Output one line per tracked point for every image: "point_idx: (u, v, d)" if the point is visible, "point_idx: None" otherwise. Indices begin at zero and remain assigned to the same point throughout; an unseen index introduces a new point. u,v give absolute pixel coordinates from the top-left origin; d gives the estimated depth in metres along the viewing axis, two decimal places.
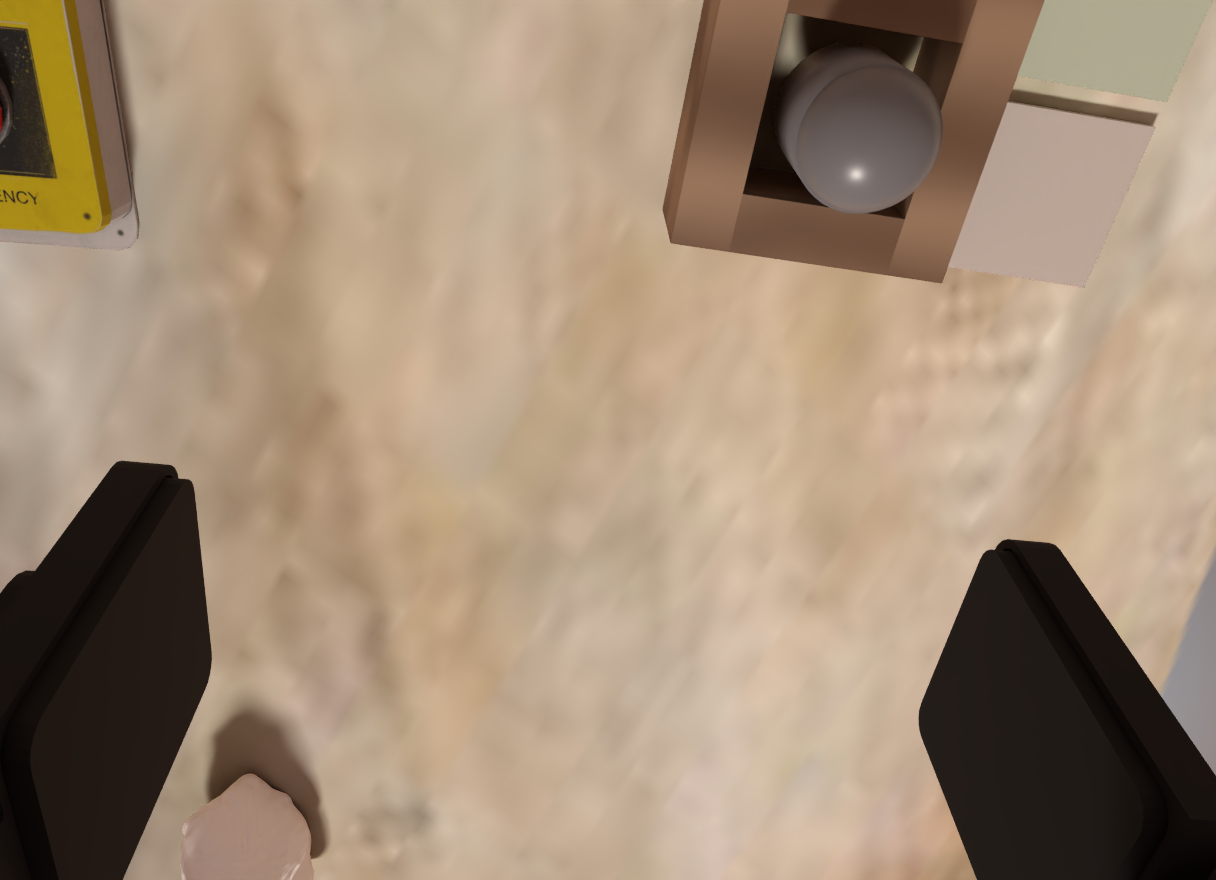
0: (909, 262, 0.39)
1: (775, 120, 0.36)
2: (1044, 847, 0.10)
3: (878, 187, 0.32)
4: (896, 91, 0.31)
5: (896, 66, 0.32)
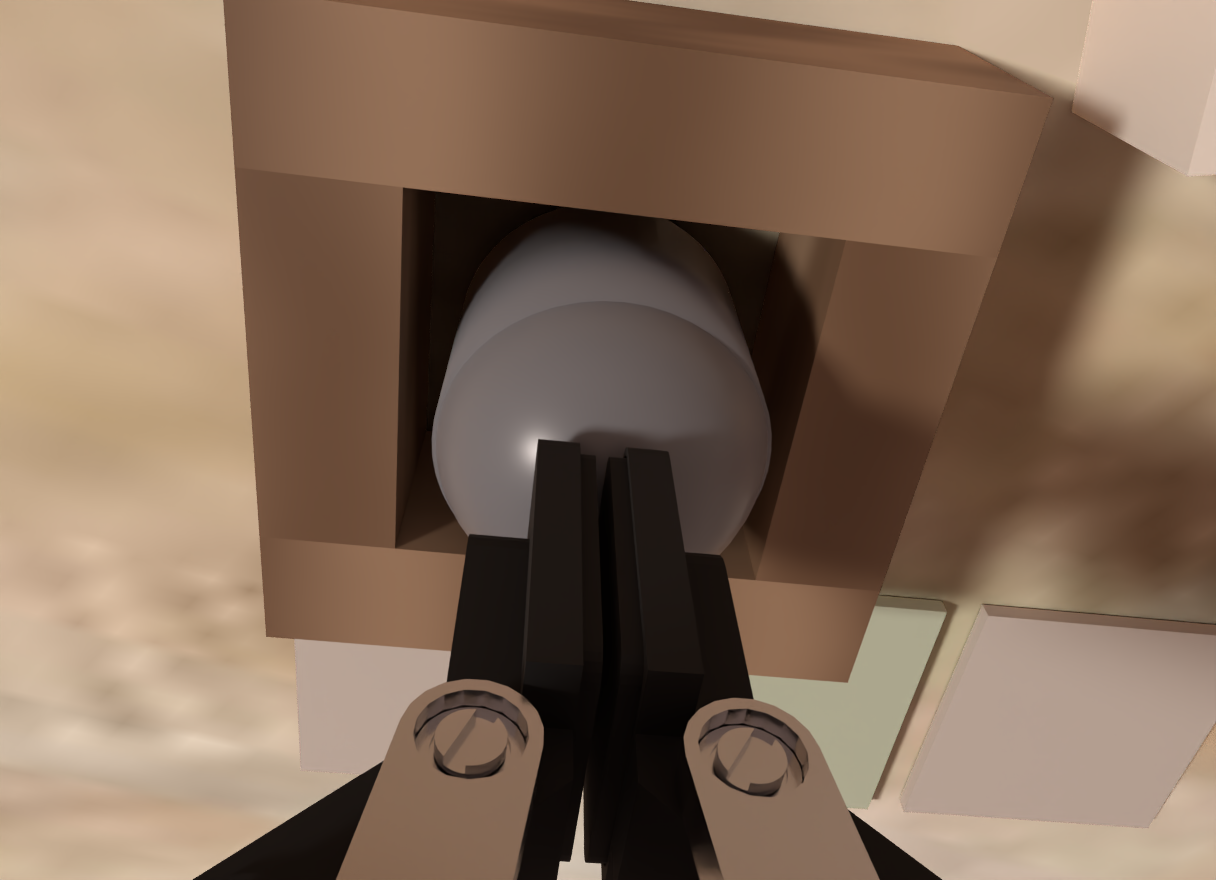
0: (299, 573, 0.17)
1: (583, 209, 0.16)
2: (599, 720, 0.10)
3: (526, 529, 0.13)
4: (738, 512, 0.14)
5: (762, 479, 0.15)
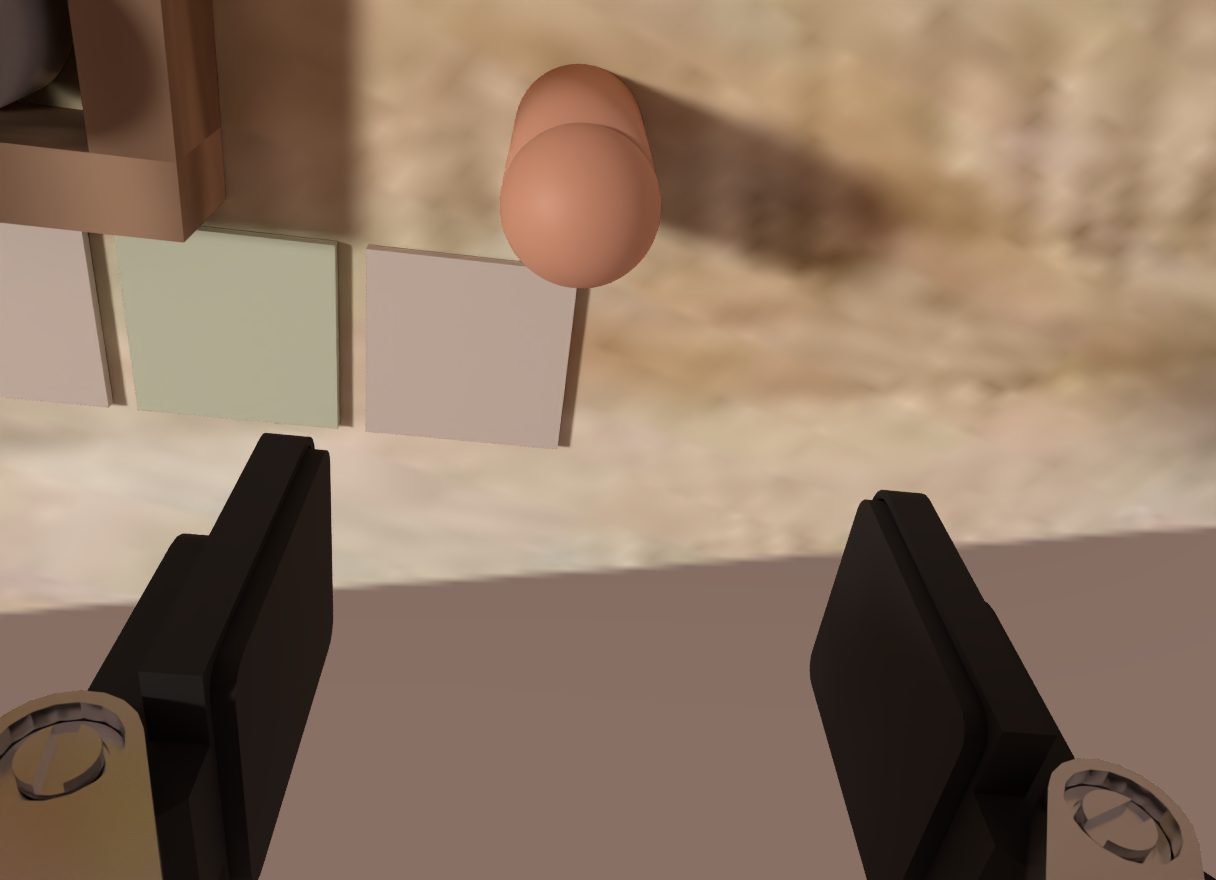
0: None
1: None
2: (894, 772, 0.10)
3: None
4: None
5: (0, 47, 0.23)
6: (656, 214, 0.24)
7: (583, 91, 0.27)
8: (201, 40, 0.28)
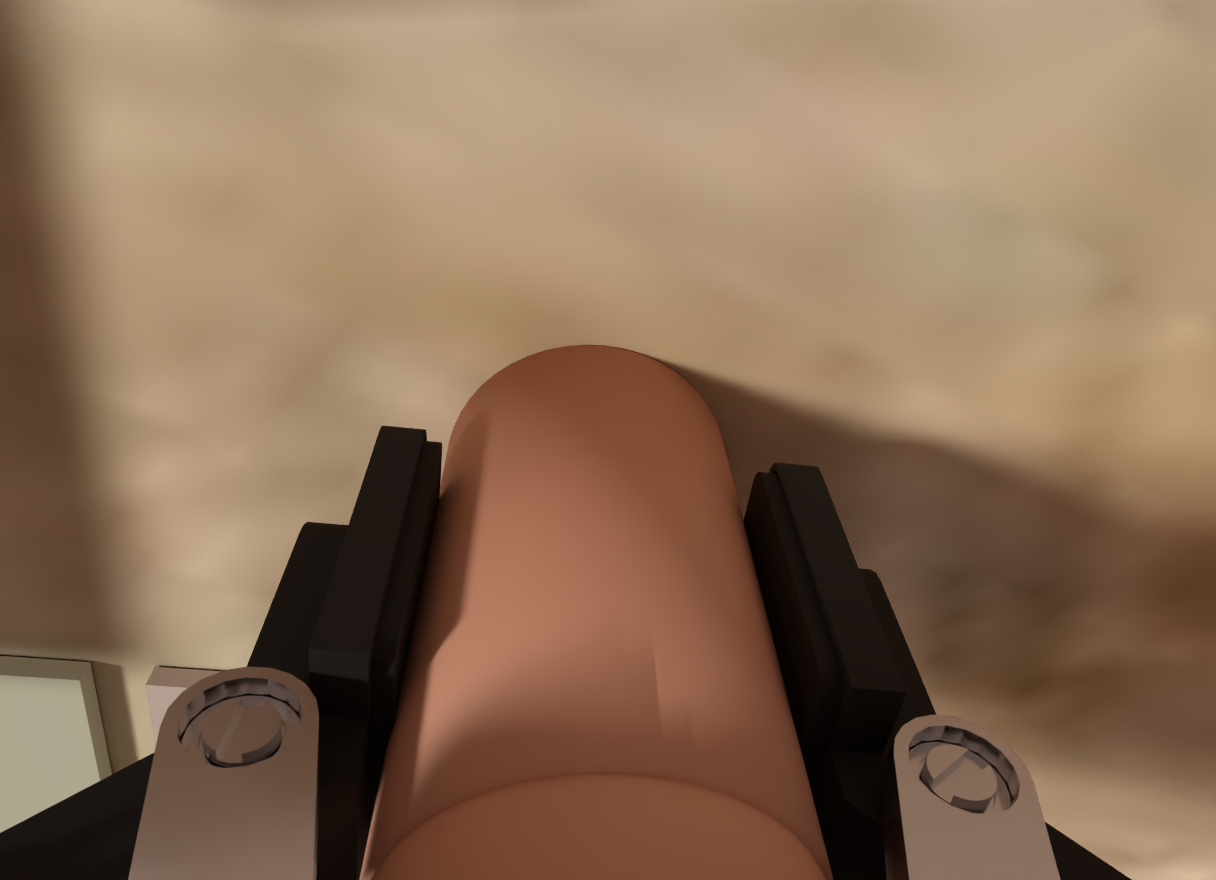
0: None
1: None
2: None
3: None
4: None
5: None
6: None
7: (602, 511, 0.10)
8: None
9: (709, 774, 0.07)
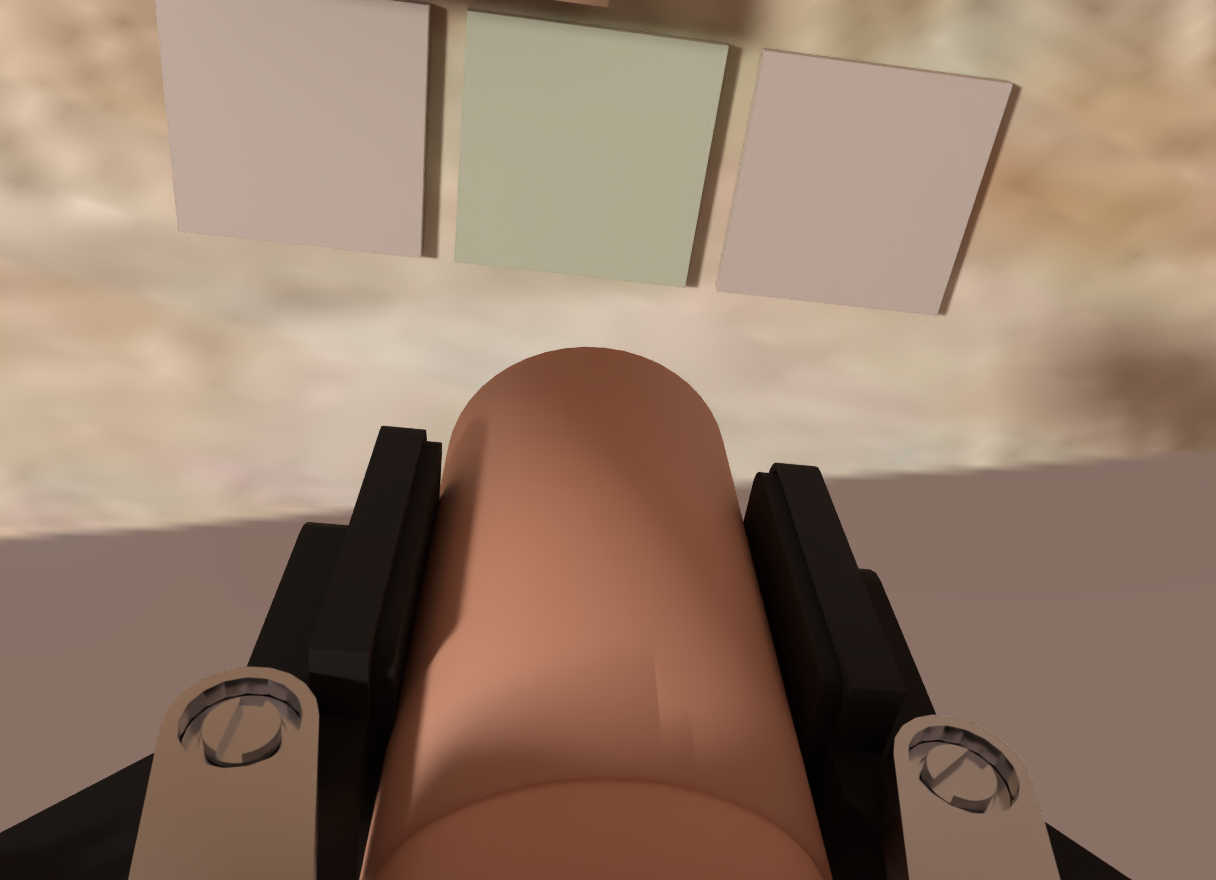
0: None
1: None
2: None
3: None
4: None
5: None
6: None
7: (601, 514, 0.10)
8: None
9: (709, 779, 0.07)
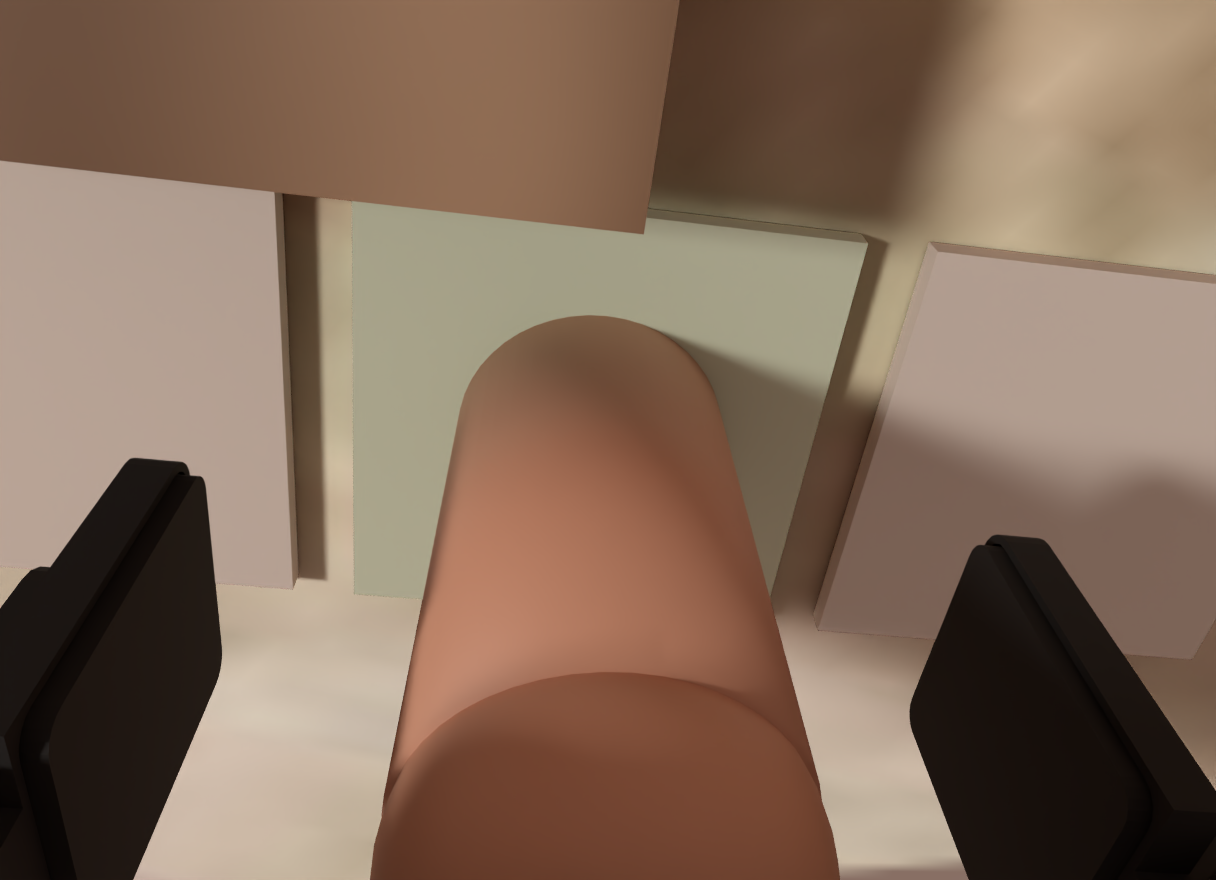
0: None
1: None
2: (1031, 840, 0.10)
3: None
4: None
5: None
6: None
7: (606, 457, 0.11)
8: None
9: (705, 676, 0.08)
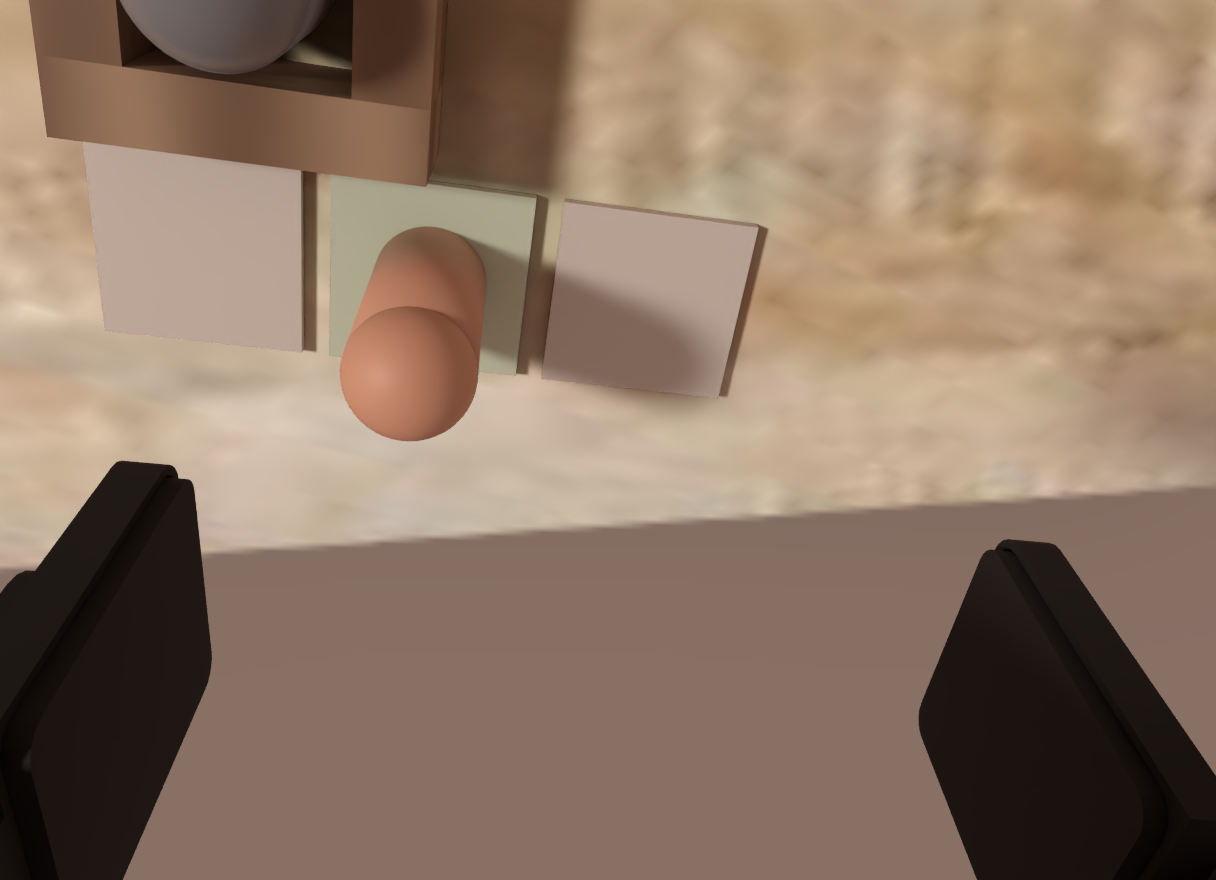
0: (63, 85, 0.28)
1: None
2: (1044, 847, 0.10)
3: None
4: None
5: None
6: (470, 384, 0.28)
7: (421, 265, 0.31)
8: None
9: (437, 310, 0.29)
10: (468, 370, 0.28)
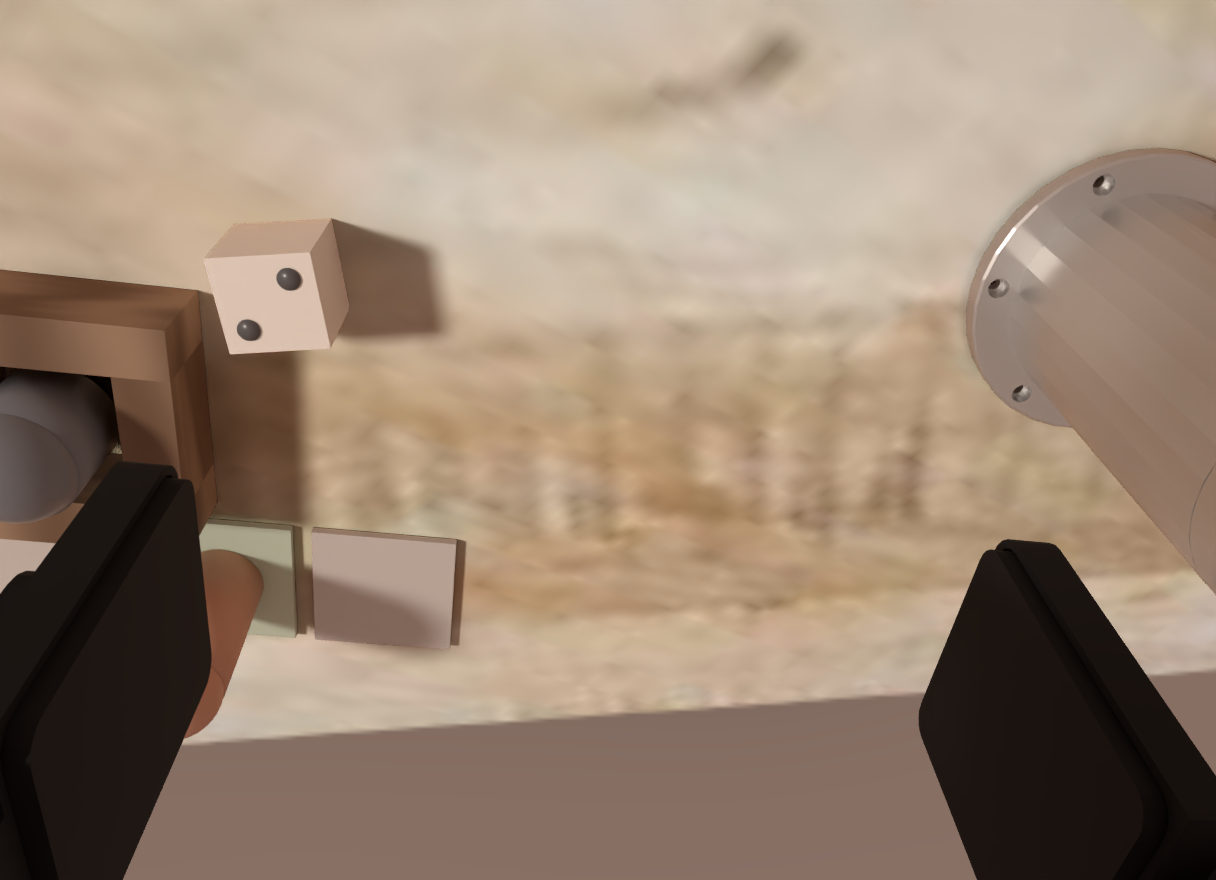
0: None
1: None
2: (1044, 847, 0.10)
3: None
4: (51, 488, 0.38)
5: (80, 476, 0.39)
6: (212, 705, 0.42)
7: None
8: (200, 425, 0.44)
9: None
10: (209, 697, 0.42)
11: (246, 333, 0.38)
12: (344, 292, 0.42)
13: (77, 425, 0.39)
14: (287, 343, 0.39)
